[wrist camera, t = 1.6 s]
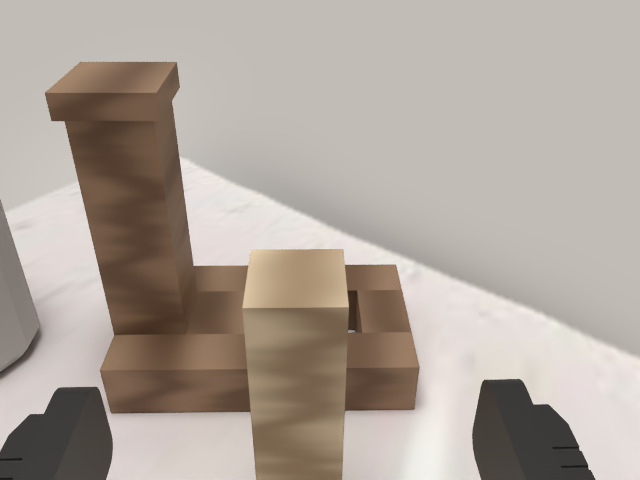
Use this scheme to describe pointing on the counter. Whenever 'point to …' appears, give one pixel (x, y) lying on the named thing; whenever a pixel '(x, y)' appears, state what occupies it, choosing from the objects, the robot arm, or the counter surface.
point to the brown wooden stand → (191, 263)
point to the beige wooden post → (297, 361)
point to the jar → (13, 301)
